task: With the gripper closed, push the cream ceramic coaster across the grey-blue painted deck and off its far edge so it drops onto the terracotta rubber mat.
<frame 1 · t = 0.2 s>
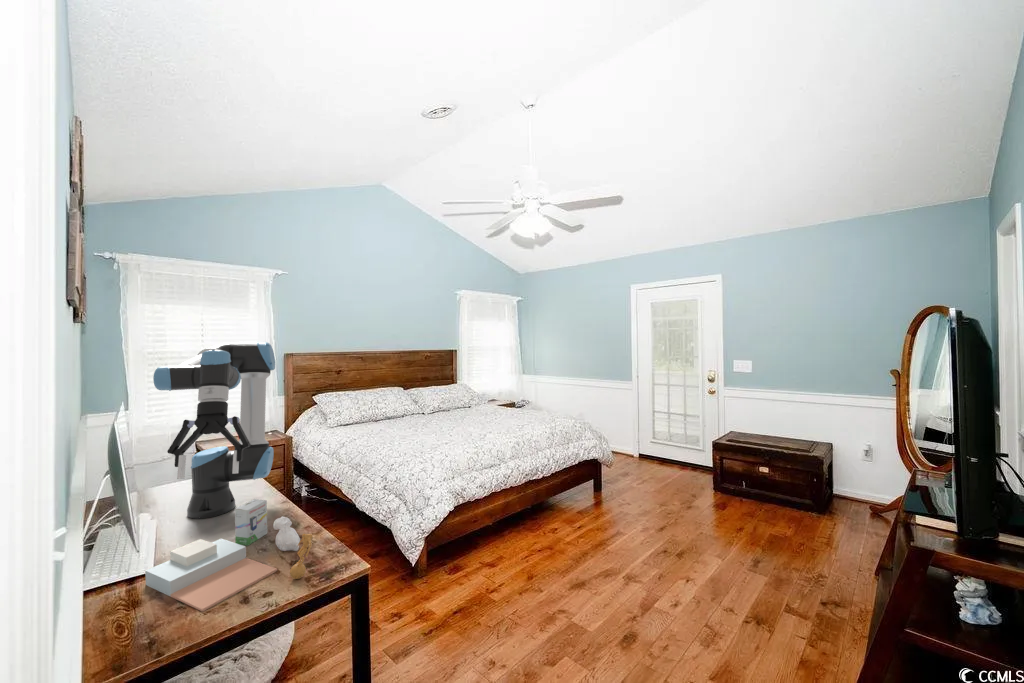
hand: (208, 476, 127), 27 cm above the table, tool tilted 15°, fingers open, 13 cm apart
figurine: (301, 577, 123), on the table
mat: (226, 583, 121), on the table
ink box: (251, 539, 146), on the table
white tied bag: (287, 548, 139), on the table
coaster: (194, 556, 127), point 4 cm above the table, touching deck
deck: (198, 571, 126), on the table
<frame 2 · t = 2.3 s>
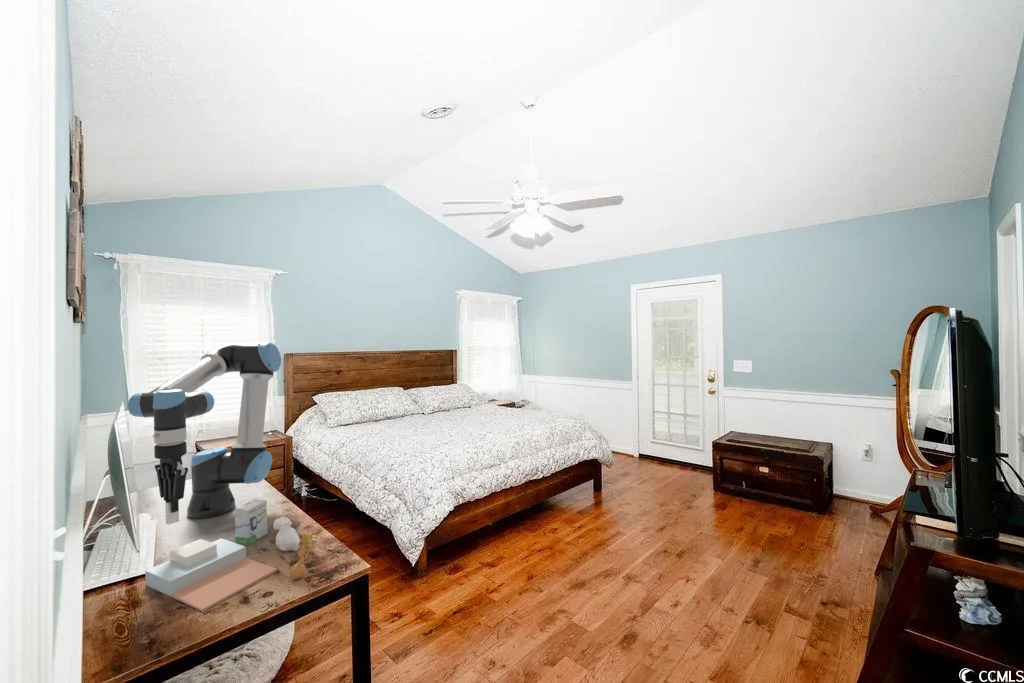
hand: (172, 522, 131), 12 cm above the table, tool pointing down, fingers closed
nothing on the table moved.
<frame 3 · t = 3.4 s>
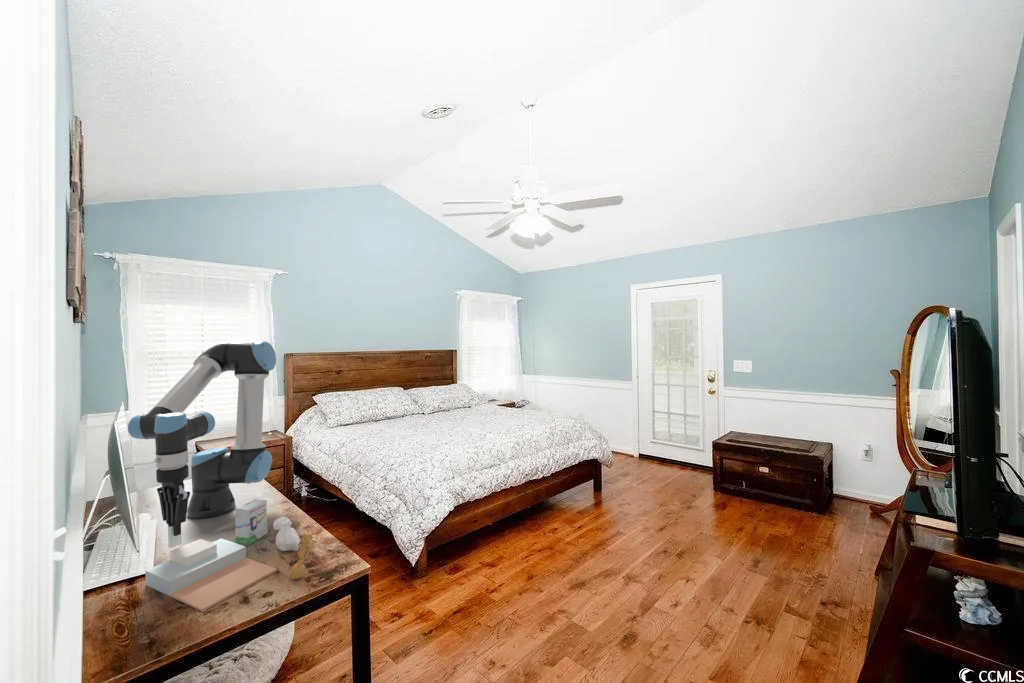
hand: (175, 545, 131), 5 cm above the table, tool pointing down, fingers closed
nothing on the table moved.
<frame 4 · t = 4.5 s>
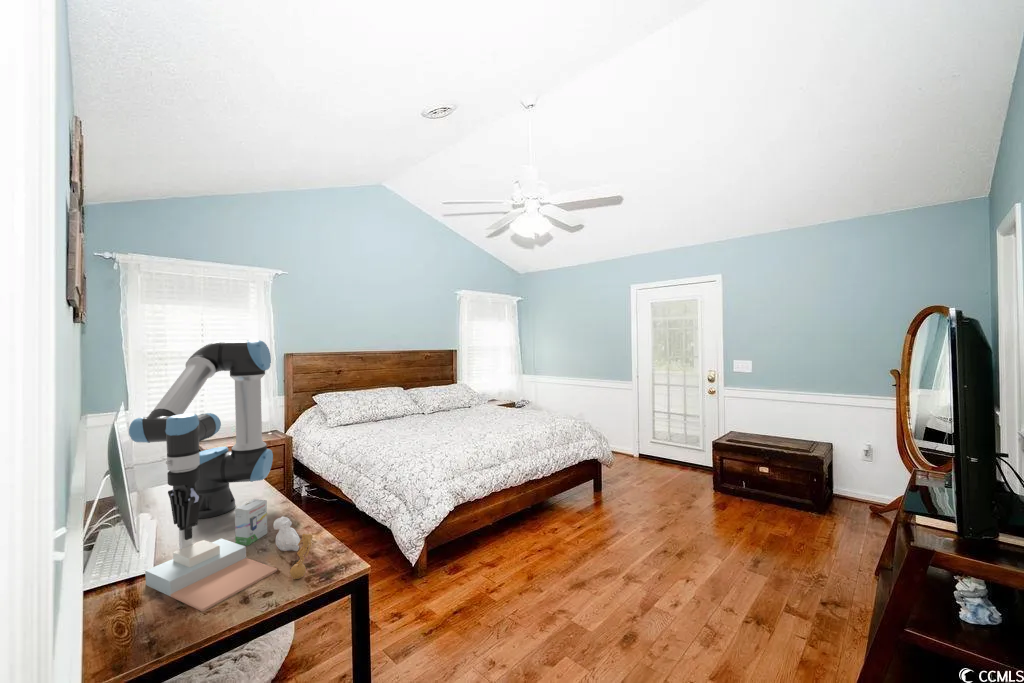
hand: (186, 549, 128), 5 cm above the table, tool pointing down, fingers closed
coaster: (196, 557, 126), point 4 cm above the table, touching gripper
everything else where it was.
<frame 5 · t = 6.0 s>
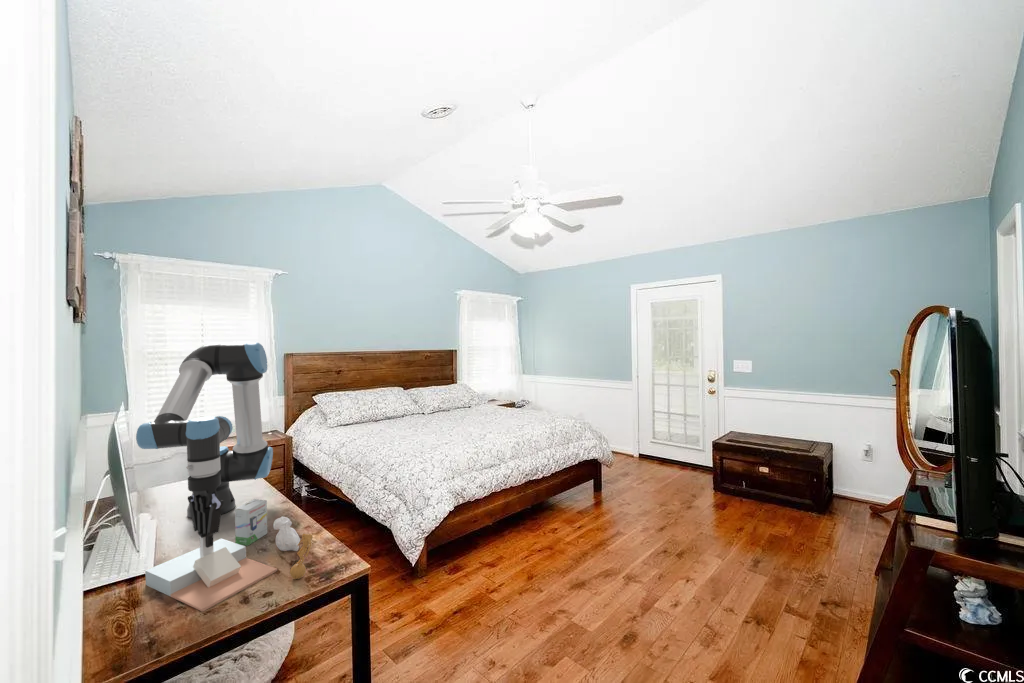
hand: (207, 557, 124), 5 cm above the table, tool pointing down, fingers closed
coaster: (216, 570, 122), point 3 cm above the table, tilted 30°, touching gripper, mat
everything else where it was.
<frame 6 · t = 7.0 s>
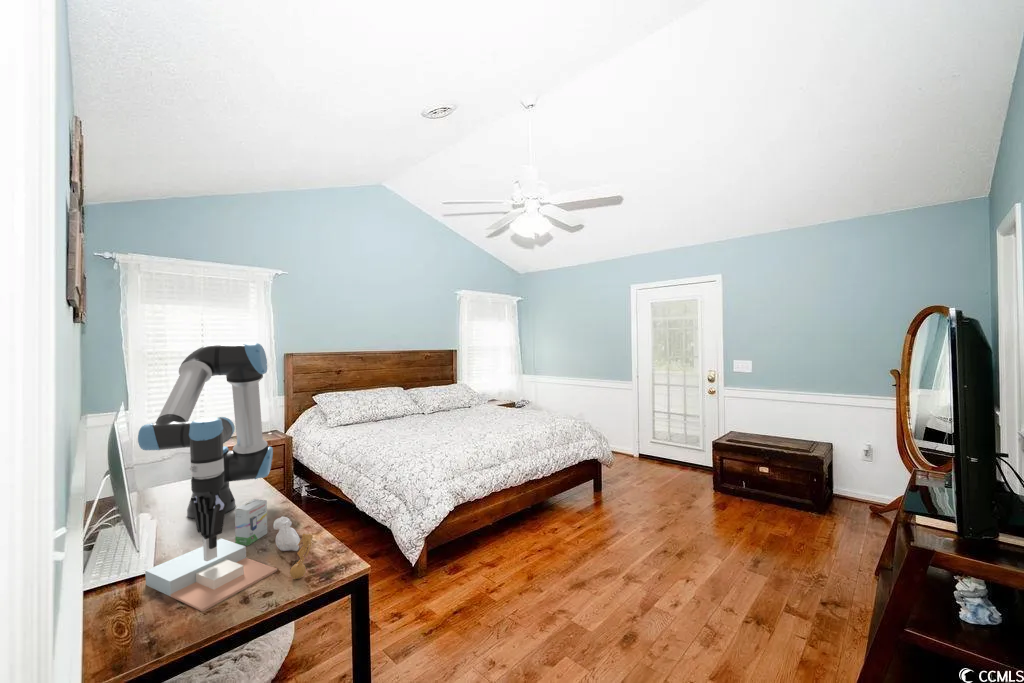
hand: (210, 558, 123), 5 cm above the table, tool pointing down, fingers closed
coaster: (220, 578, 122), point 1 cm above the table, touching mat
everything else where it was.
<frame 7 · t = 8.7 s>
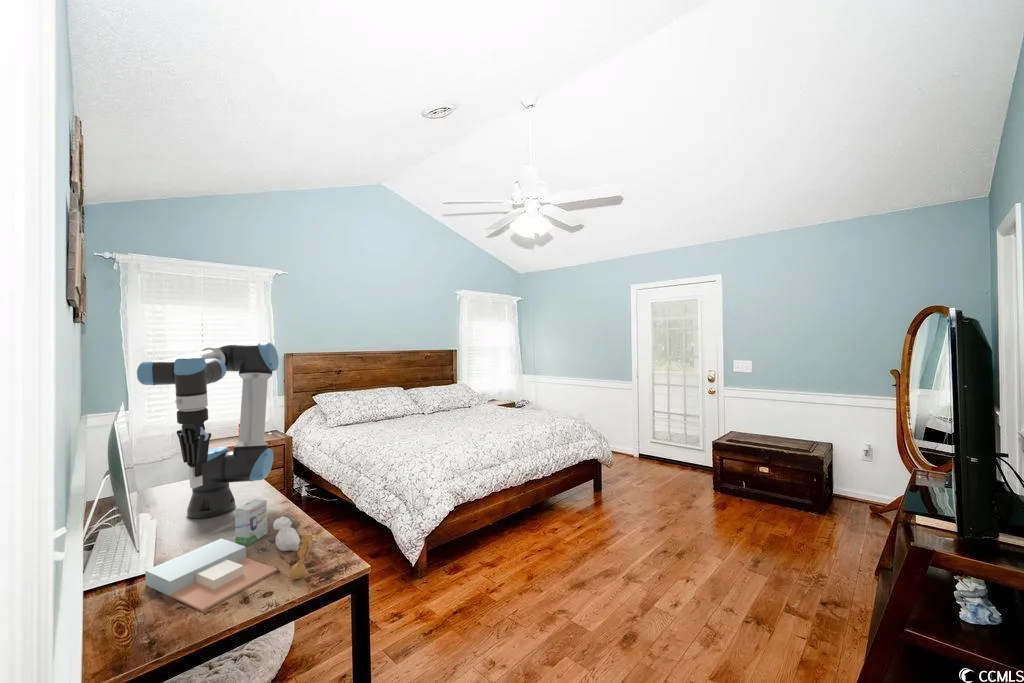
hand: (196, 486, 133), 22 cm above the table, tool pointing down, fingers closed
nothing on the table moved.
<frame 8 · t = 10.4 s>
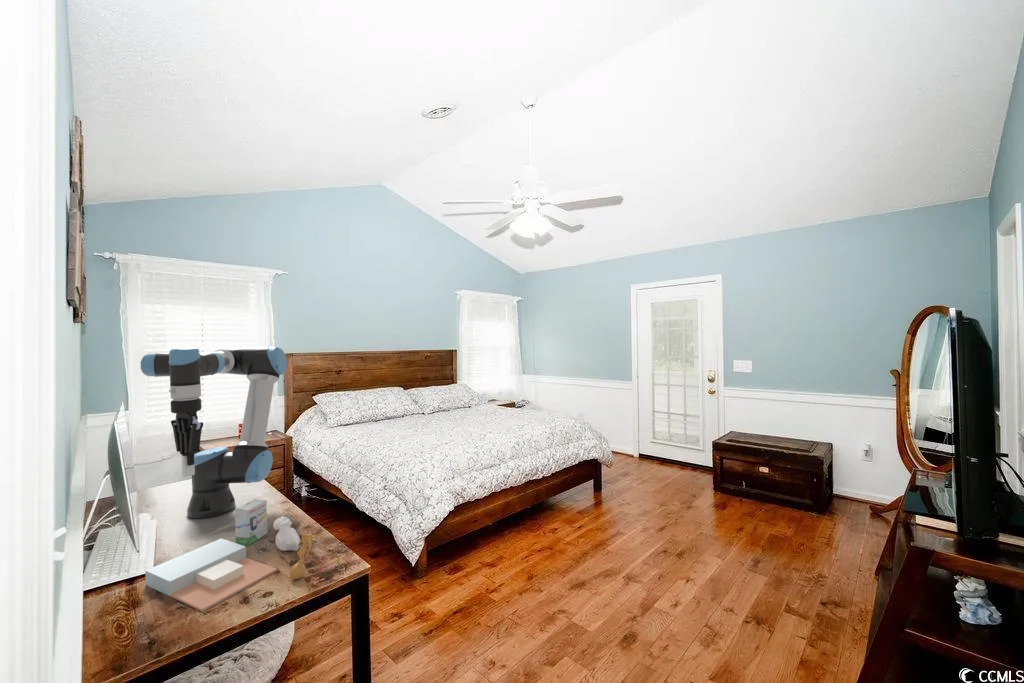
hand: (188, 475, 136), 24 cm above the table, tool pointing down, fingers closed
nothing on the table moved.
at the end: coaster point 0.6 cm above the table; coaster inside the target area (3.4 cm from its centre), point 0.6 cm above the table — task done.
